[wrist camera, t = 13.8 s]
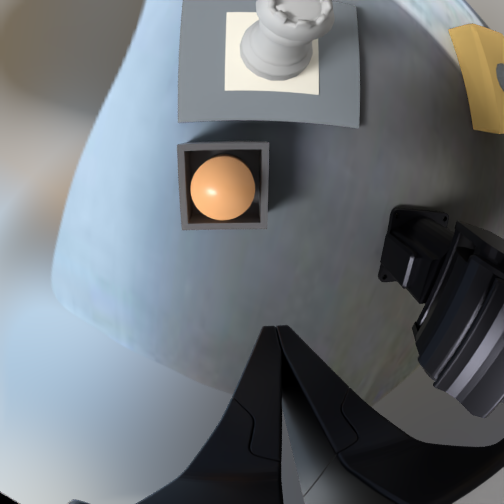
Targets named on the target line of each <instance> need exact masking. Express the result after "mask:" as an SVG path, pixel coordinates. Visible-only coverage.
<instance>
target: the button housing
mask: <svg viewBox="0 0 504 504" xmlns="http://www.w3.org/2000/svg"><path fill="white" fill-rule="evenodd" d="M220 154H229V155H234V156H236V157H238V158H240V159H242V160H243V161H244V162H245V163H246V164H247V165H248V167H249V168H250V170H251V173H252V176H253V179H254V183H255V195H254V199H253V201H252V203H251V205H250V206H249V208H248V209H247V210H246V211H245V212H244V213H243V214H241V215H240V216H238V217H236V218H233V219H230V220H216V219H212V218H210V217H207V216H206V215H204V214H203V213H202V212H200V211H199V210H198V208H197V207H196V206H195V204H194V202H193V200H192V196H191V181H192V178H193V176H194V174H195V172H196V171H197V170H198V168H199V167H200V166H201V165H202V164H203V163H205V162H206V161H207V160H208V159H210V158H211V157H213V156H216V155H220ZM177 155H178V178H179V196H180V211H181V224H182V230H216V229H267V215H268V178H269V142H266V141H209V142H188V143H183V144H178V145H177Z"/></svg>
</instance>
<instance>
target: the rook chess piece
mask: <svg viewBox="0 0 504 504" xmlns="http://www.w3.org/2000/svg"><path fill="white" fill-rule="evenodd" d="M256 13H257V16H258V17H259V20H258V21H256V22H255V23H253V24H252V25H251V26H250V27H249V28H247V29H246V31H245V33H244V35H243V37H242V39H241V43H240V57H241V59H242V60H243V62H244V64H245V66H246V68H248V69H249V70H250V71H252V72H253V73H254V74H255V75H257V76H259V77H262V78H265V79H267V80H270V81H285V80H288V79H290V78H293V77H296V76H298V75H299V74H300V73H301V72H302V71H303V70H304V69H305V68H306V67H307V65H308V64H309V62H310V59H311V57H312V54H313V49H312V41H313V40H315V39H318V38H321V37H323V36H324V35H325V34H326V33H328V32H329V31H330V30H331V28H332V25H333V23H334V20H335V18H334V11H333V4H332V0H257V1H256Z"/></svg>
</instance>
